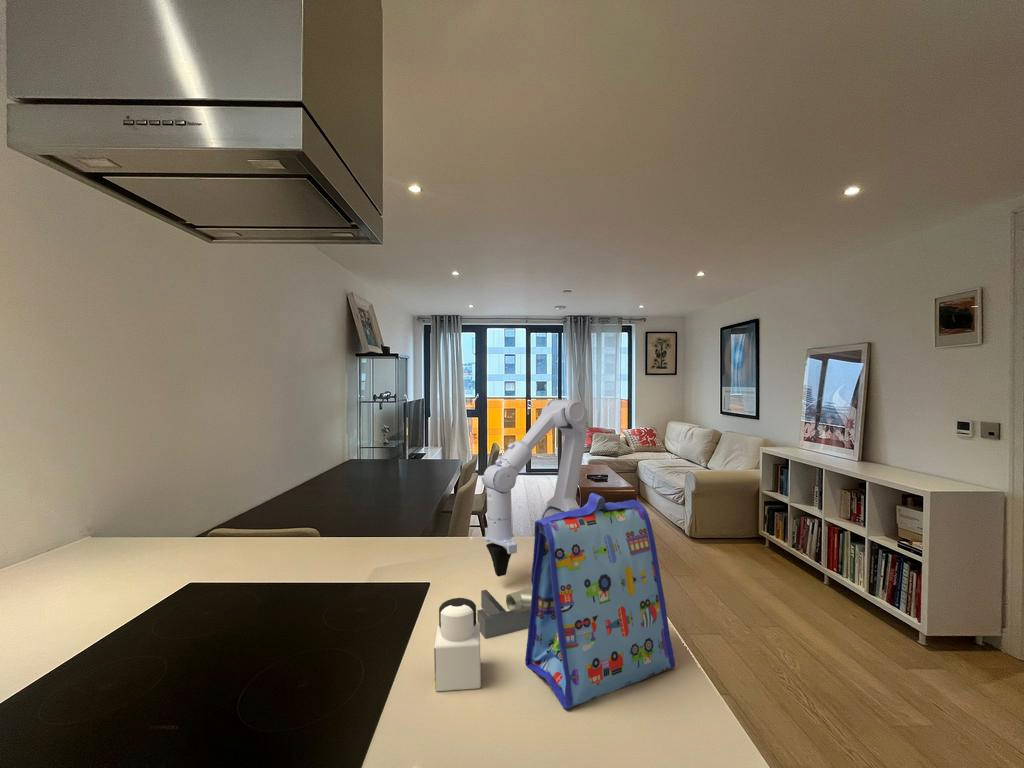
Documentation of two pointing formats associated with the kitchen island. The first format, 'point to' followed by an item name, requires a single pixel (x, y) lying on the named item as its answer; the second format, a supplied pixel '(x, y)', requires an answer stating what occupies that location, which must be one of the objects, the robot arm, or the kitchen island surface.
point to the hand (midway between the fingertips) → (500, 574)
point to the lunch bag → (596, 601)
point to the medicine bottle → (457, 646)
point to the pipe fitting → (519, 599)
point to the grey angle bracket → (500, 617)
